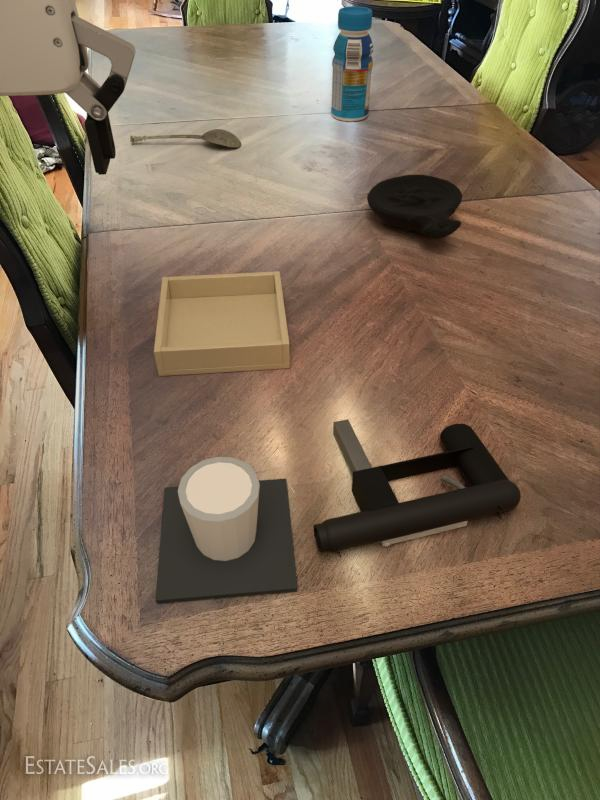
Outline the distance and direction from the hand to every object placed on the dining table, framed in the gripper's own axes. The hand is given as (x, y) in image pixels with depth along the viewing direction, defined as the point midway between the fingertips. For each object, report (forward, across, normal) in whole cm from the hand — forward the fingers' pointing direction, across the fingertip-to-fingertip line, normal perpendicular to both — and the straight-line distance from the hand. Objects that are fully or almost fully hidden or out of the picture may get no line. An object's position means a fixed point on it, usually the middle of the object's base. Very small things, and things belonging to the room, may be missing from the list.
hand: (40, 169), depth 48 cm
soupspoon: (+28, -5, -77) cm, 82 cm away
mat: (+28, -12, +16) cm, 35 cm away
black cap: (+28, -43, -40) cm, 65 cm away
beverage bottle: (+28, -40, -90) cm, 103 cm away
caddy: (+28, -12, -15) cm, 34 cm away
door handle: (+28, -29, +11) cm, 42 cm away
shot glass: (+28, -12, +16) cm, 34 cm away
